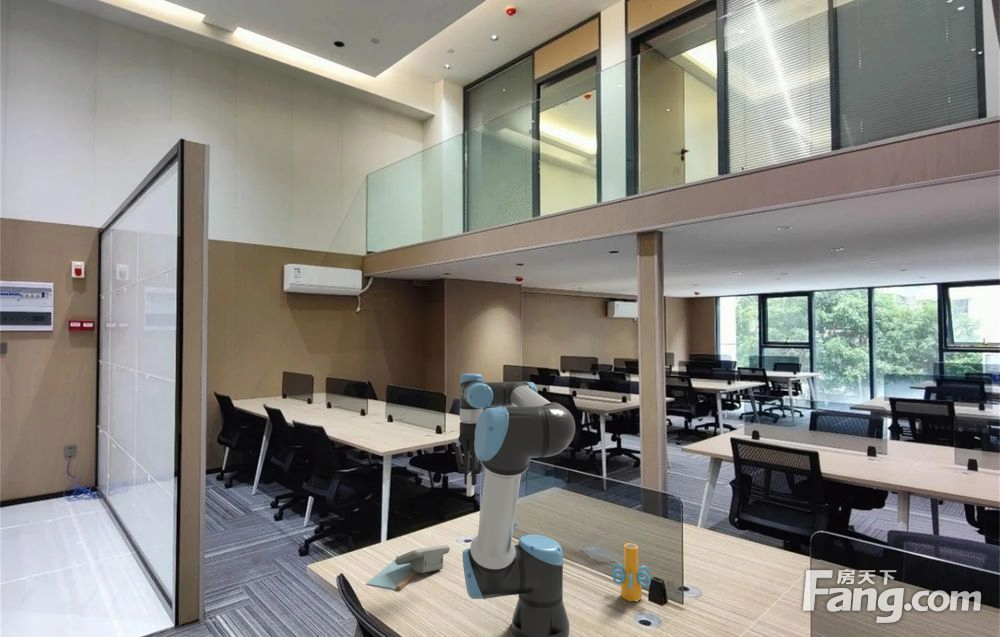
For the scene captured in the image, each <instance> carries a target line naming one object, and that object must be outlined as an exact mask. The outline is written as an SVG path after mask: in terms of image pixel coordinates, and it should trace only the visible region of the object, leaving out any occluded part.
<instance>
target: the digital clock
mask: <svg viewBox="0 0 1000 637" xmlns="http://www.w3.org/2000/svg"><path fill="white" fill-rule="evenodd" d="M450 550H451V548H450V546H449V545H447V544H445V545H438V546H436V545H435V546H431V547H430V546H429V547H423V548H418V549H414V550H412V551H411V550H410V551H408V552H406V553H403V554H401V555H399V556H396V557H395V559H394V560H395V563H396V564H397V565H402V564H408V563H410V564H411V565H412V567H413V570H414V571H417V572H419V573H420V574H421V573H422V574H423V573H428V572H433V571H439V570H443V568H444V555H446V554H448V553H449V552H450Z"/></svg>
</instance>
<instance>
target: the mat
mask: <svg viewBox="0 0 1000 637" xmlns="http://www.w3.org/2000/svg"><path fill="white" fill-rule="evenodd" d="M419 573H420V572H417V571H414V570H413V567H412V565H411V564H410V563H408V564H402V565H397V564H396V563H395V559H394V560H392V561H391V562H390V563H389V564H388V565H386V566H385V567H384V568H383V569H382V570H381V571H379V572H378V573H377V574H376V575H375V576H373V577H372V578H371V579H369V581H367V582H366V585H367V584H368V586H374V587H378V588H383V587H384V589H389V590H393V591H402V590H403V589H404V588H405V587H406V586H407V585H408V584H409V583H410V582H411V581H412V580H414V578H415V577H417V575H418V574H419Z"/></svg>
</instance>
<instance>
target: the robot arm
mask: <svg viewBox="0 0 1000 637" xmlns="http://www.w3.org/2000/svg"><path fill="white" fill-rule="evenodd" d="M459 393H460V394H459V421H460V422H459V435H458V437H457V440H455V441H452V442H451V446H452V448H453V449H454V454H455V460H456V464H457V470H458V472H459V473H462V474H463V475H464V476H463V480H464V481H463V483H464V485H466V497H472V496H474V495H475V486H476V485H477V483H478V475H480V474H481V473H483V471H484V478H483V479H484V480H483V489H482V495H481V496H482V497H481V503H480V504H481V506H480V513H479V520H478V530H477V531H478V532H477V536H475V537H474V538H473V540H472V541H471V543H470V548H466V549H463V551H462V566H463V573H464V574H463V576H464V580H465V585H466V586H465V587H466V592H467V595H468V597H469V598H470V599H472V600H486V599H491V598H499V597H500V598H502V597H508V596H516V595H517V596H518V599H517V603H516V606H515V608H514V612H513V614H512V615H513V616H512V618H511V631H512V634H513V636H514V637H569V636H570V621H569V617H568V613H567V611H566V607H565V604H564V600H563V599H564V598H563V597H564V595H563V594H564V593H563V592H564V588H563V587H564V586H563V584H564V557H563V556H564V554H563V549H562V548H563V547H562V546H561V545H560V543H559V542H558V541H557V540H554V539H553V538H550V537H548V536H545V535H540V534H524V535H522V536H520V537H519V540H518V543H517V544H514V542H513V541H512V540H513V533H514V528H515V527H514V526H515V520H516V515H517V514H516V513H517V506H518V499H519V492H520V486H521V485H520V484H521V477H522V474H524V473H525V472H526V471H527V470H528V469H529V468H530V462H531V461H530V460H531V459H535V458H549V457H553V456H556V455H559V454H560V453H562V452H564V450H566V448H568V447H569V445H570V444H571V443H572V441H573V439H574V437H575V434H576V422H575V419H574V416H573V415H572V413H571V412H570V411H569V409H567V408H566V407H565V406H564V405H561V404H560V403H558V402H550V401H549V400H548V399H546V398H545V397H543V396H542V395H541V394H539V393H538V388H537V385H536V384H535V383H534V382H532V381H523V380H522V381H506V382H505V381H502V382H501V381H497V382H495V381H493V382H492V381H491V382H490V381H489V382H488V381H487V382H485V381H484V376H483V374H481V373H463V374H461V375H460V382H459ZM461 448H463V451H462V449H461ZM462 452H463V453H462ZM484 469H485V470H484Z"/></svg>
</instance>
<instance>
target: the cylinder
mask: <svg viewBox="0 0 1000 637" xmlns="http://www.w3.org/2000/svg"><path fill="white" fill-rule="evenodd" d="M623 549H624V551H623V553H624V554H623V555H624V556H623V558H624V559H623V560H624V561H623V562H624V563H623V564H624V565H622V564H621V563H619V562H615V563H614V564H613V566H612V571H613V572H612V580H613V582H614V583H615V584H617V585H619V584H620V596H621V598H622V597H623V598H624V599H623V598H622V599H623V600H625V599H626V600H625V601H627V600H629V601H628V602H630V601H636V600H639V599H641V600H642V598H641V597H642V595H643V592H642V590H643V588H648V587H650V585H651V583H652V582H651V578H650V569H649V568H648V567H647V566H646V565H641V566H639V546H638V545H637V544H635V543H632V542H631V543H630V542H628V543H624V547H623ZM616 567H620V568H617V569H616ZM642 570H645V571H646V572H645V571H642ZM619 573H622V574H619ZM641 575H643V576H644V577H641ZM616 578H618V579H620V580H617V579H616ZM642 581H647V583H643V582H642ZM642 587H643V588H642Z"/></svg>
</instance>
